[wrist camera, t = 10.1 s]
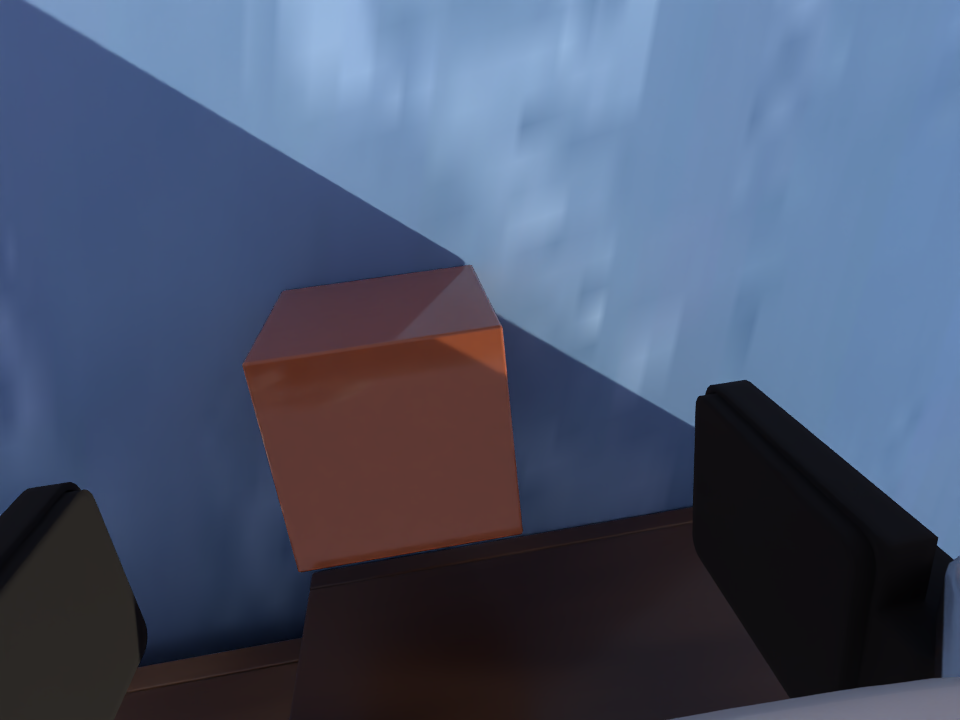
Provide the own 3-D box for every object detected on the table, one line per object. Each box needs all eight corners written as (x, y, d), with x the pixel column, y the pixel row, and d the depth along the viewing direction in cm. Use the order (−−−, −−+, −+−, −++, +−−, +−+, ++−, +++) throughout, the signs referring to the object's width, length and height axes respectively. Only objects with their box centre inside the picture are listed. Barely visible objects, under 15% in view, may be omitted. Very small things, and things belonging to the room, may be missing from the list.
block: (320, 456, 17) (297, 573, 13) (280, 290, 15) (240, 364, 11) (491, 429, 17) (523, 535, 13) (472, 264, 15) (503, 324, 11)
